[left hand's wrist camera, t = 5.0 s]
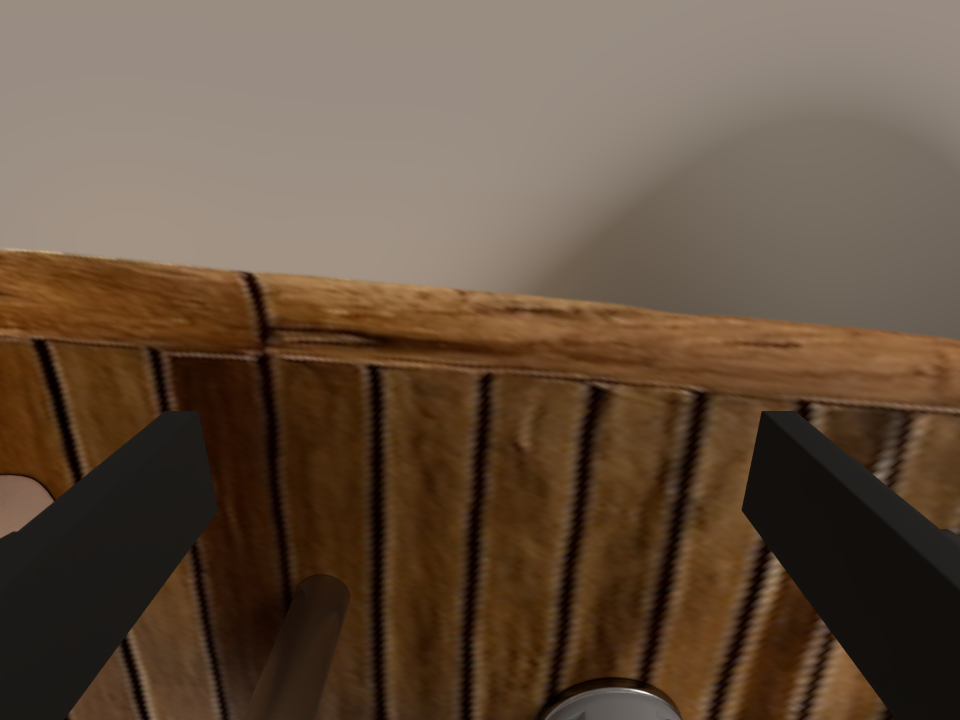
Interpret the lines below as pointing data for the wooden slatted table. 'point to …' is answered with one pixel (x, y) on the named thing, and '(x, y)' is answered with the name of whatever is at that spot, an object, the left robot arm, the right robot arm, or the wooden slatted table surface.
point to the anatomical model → (20, 502)
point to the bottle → (301, 653)
